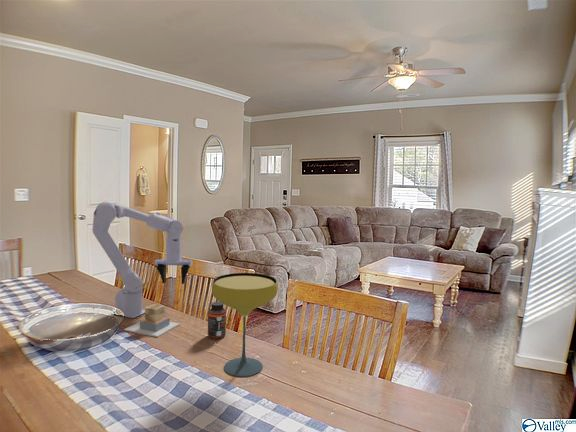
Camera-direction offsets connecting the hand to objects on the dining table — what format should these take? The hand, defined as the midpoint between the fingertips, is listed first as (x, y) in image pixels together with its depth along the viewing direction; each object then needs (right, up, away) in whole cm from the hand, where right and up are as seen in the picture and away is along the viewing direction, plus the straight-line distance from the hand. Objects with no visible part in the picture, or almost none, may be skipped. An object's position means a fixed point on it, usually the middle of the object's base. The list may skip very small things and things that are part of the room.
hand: (173, 283), depth 154 cm
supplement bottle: (+22, -14, -25) cm, 36 cm away
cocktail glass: (+34, -16, -46) cm, 59 cm away
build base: (-2, -12, -20) cm, 23 cm away
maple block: (0, -9, -21) cm, 22 cm away
